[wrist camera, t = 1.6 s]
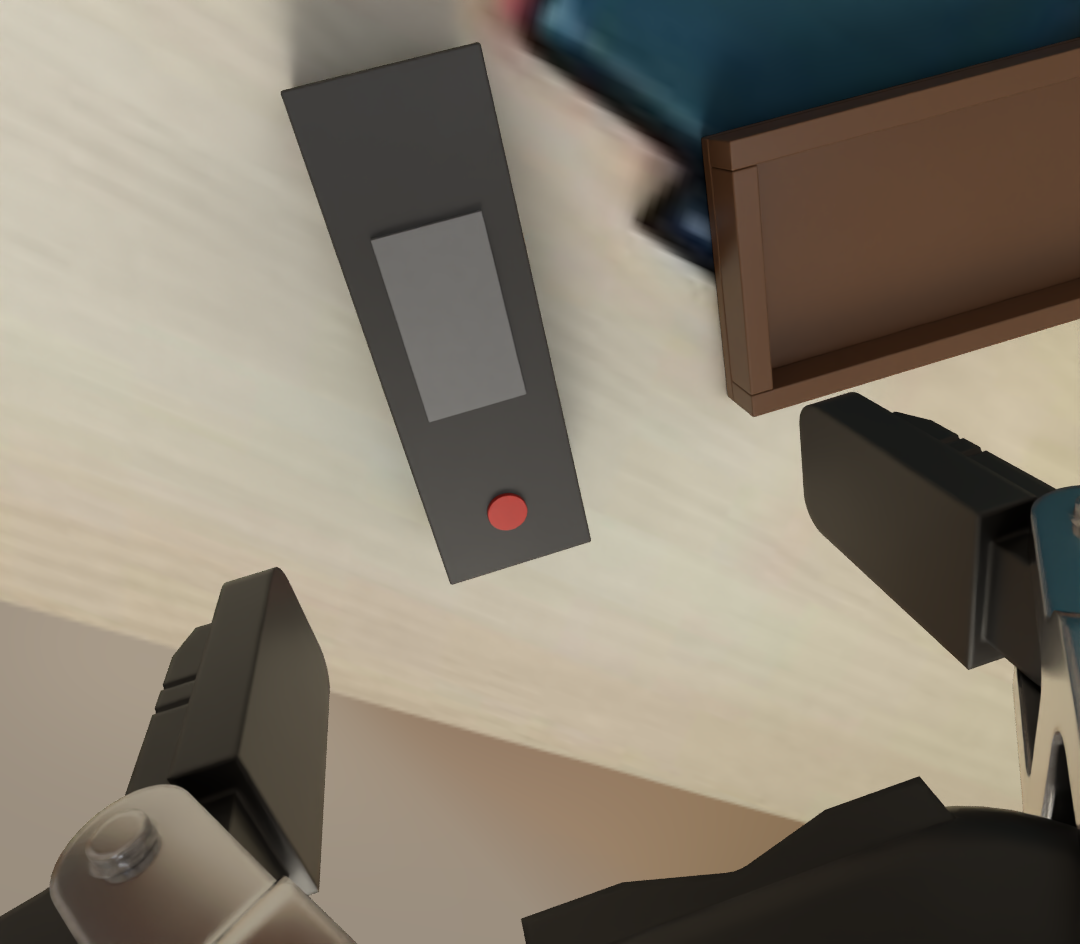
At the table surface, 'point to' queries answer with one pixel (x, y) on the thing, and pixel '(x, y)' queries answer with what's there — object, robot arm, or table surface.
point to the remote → (446, 301)
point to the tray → (897, 227)
